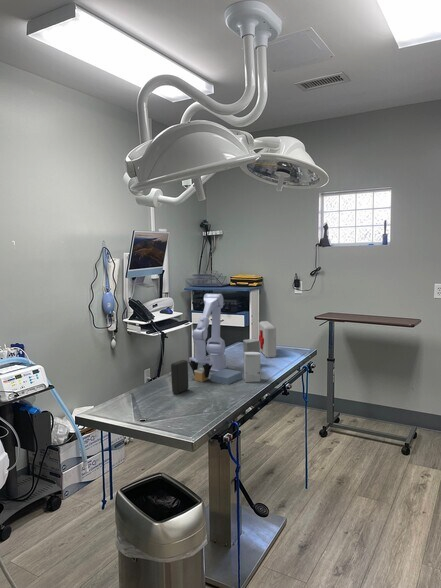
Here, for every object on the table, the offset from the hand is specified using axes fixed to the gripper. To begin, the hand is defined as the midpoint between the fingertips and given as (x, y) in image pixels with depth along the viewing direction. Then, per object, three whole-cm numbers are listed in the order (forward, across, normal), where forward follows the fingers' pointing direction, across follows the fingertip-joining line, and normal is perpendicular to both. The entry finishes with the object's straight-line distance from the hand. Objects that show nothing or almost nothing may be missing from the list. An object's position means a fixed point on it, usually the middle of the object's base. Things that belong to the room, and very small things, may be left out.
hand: (201, 376), depth 233 cm
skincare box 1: (+2, +9, +36) cm, 37 cm away
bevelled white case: (+2, +2, +65) cm, 65 cm away
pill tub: (+2, 0, 0) cm, 2 cm away
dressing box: (+2, +12, +7) cm, 14 cm away
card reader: (+2, +3, -20) cm, 20 cm away
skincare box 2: (+2, +24, +13) cm, 27 cm away
